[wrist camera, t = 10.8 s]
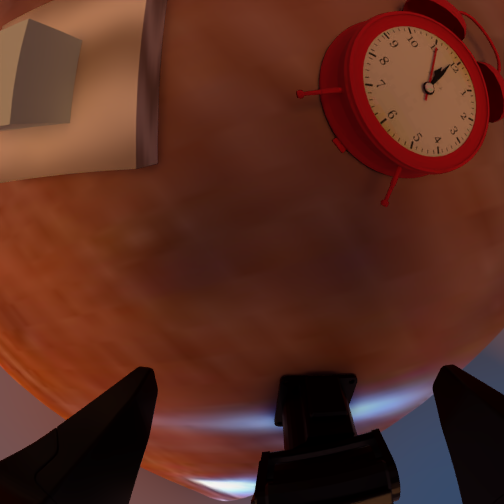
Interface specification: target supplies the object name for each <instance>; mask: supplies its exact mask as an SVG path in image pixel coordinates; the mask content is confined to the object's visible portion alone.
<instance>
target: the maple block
mask: <svg viewBox="0 0 504 504" xmlns="http://www.w3.org/2000/svg"><path fill="white" fill-rule="evenodd" d="M166 4H167V0H54V1H51V2H49V3H47V4H44V5H42V6H40V7H38V8H36V9H34V10H32V11H30V12H28V13H26V14H24V15H22V16H20V17H18V18H16V19H14V20H13V21H11V22H9V23H7V24H5V25H4V26H3V28H2V30H3V29H6V28H8V27H10V26H12V25H14V24H17V23H19V22H21V21H24V20H26V19H32V20H34V21H37V22H40V23H42V24H45V25H47V26H50V27H52V28H54V29H57V30H59V31H62V32H64V33H66V34H69V35H71V36H73V37H75V38H78V39H80V40H82V44H81V49H80V54H79V59H78V64H77V70H76V76H75V83H74V90H73V98H72V107H71V116H70V123H65V124H55V125H45V126H37V127H29V128H22V129H16V130H5V131H0V183H3V182H9V181H16V180H23V179H30V178H38V177H46V176H54V175H63V174H73V173H84V172H96V171H109V170H125V169H138V168H142V167H146V166H150V165H154V164H158V102H159V80H160V64H161V51H162V40H163V29H164V20H165V12H166Z"/></svg>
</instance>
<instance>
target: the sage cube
mask: <svg viewBox="0 0 504 504" xmlns="http://www.w3.org/2000/svg"><path fill="white" fill-rule="evenodd" d="M81 44H82V40H80V39H78V38H75V37H73V36H71V35H69V34H66V33H64V32H62V31H59V30H57V29H54V28H52V27H50V26H47V25H45V24H42V23H40V22H37V21H34V20H32V19H26V20H24V21H21V22H19V23H17V24H14V25H12V26H10V27H8V28H6V29H3V30H1V31H0V131H5V130H16V129H22V128H29V127H37V126H45V125H55V124H65V123H70V116H71V107H72V98H73V90H74V83H75V76H76V70H77V64H78V59H79V54H80V49H81Z"/></svg>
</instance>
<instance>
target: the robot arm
mask: <svg viewBox="0 0 504 504" xmlns="http://www.w3.org/2000/svg"><path fill="white" fill-rule="evenodd" d="M350 380H351V381H350ZM285 382H287V383H285ZM356 384H357V377H356V375H353V374H351V375H330V376H284V377H282V378H281V379H280V384H279V392H278V399H277V406H276V413H275V420H274V422H275V425H276V426H283V434H284V451H277V452H270V451H268V452H262V457H261V461H259V467H258V474H257V481H256V487H255V492H254V495H253V497H252V500H251V504H393V502H394V501H397V500H399V498H400V481H399V475H398V471H397V468H396V464H395V462H394V460H393V457H392V455H391V454H390V451H389V449H388V447H387V445H386V443H385V441H384V439H383V437H382V435H381V433H380V431H379V429H375V430H371V432H368V433H365V434H361V435H357V432H356V429H355V425H354V422H353V418H352V414H351V411H350V407H349V403H350V401H351V398H352V395H353V392H354V390H355V387H356ZM157 393H158V388H157V383H156V379H155V374H154V371H153V369H152V368H148V367H138V368H136V369H135V370H134V371H132V372H131V373H130V374H128V375H127V376H126V377H124V378H123V379H122V380H120V381H119V382H118V383H116V384H115V385H114V386H112V387H111V388H109V389H108V390H107V391H105V392H104V393H103V394H101V395H100V396H99V397H97V398H96V399H95V400H93V401H92V402H91V403H89V404H88V405H86V406H85V407H84V408H82V409H81V410H80V411H78V412H77V413H75V414H74V415H73V416H71V417H70V418H69V419H67V420H66V421H64V422H63V423H62V424H60V425H59V426H58V427H57V428H55V429H53V430H52V431H50V432H49V433H48V434H46V435H45V436H43V437H42V438H40V439H39V440H37V441H36V442H34V443H32V444H31V445H29V446H27V447H26V448H24V449H22V450H20V451H18V452H16V453H15V454H13V455H11V456H9V457H7V458H5V459H3V460H1V461H0V504H129V501H130V498H131V494H132V491H133V487H134V484H135V480H136V478H137V474H138V471H139V468H140V465H141V461H142V458H143V455H144V452H145V449H146V446H147V442H148V439H149V435H150V430H151V425H152V419H153V414H154V409H155V404H156V399H157ZM433 393H434V397H435V401H436V405H437V409H438V414H439V418H440V423H441V427H442V430H443V433H444V436H445V439H446V442H447V446H448V449H449V452H450V456H451V459H452V463H453V466H454V470H455V474H456V477H457V481H458V485H459V489H460V494H461V498H462V502H463V504H504V395H503V394H501V393H500V392H498V391H496V390H495V389H493V388H491V387H490V386H488V385H487V384H485V383H483V382H481V381H480V380H478V379H477V378H475V377H473V376H472V375H470V374H468V373H467V372H465V371H463V370H462V369H460V368H458V367H457V366H455V365H445V366H443V367H442V368H441V369H440V371H439V373H438V375H437V377H436V379H435V381H434V384H433Z"/></svg>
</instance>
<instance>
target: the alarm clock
mask: <svg viewBox="0 0 504 504" xmlns="http://www.w3.org/2000/svg"><path fill="white" fill-rule="evenodd" d="M461 14H462V15H465V16H467V17H468V18H470V19H471V20H472V21H473V22H474V23H475V24H476V25H477V26H478V27H479V28H480V30H481V31H482V32H483V33H484V35H485V36H486V38H487V39H488V41H489V43H490V45H491V47H492V48H493V50H494V53H495V55H496V58H497V64H498V68H497V70H496V69H495V68H494V67H493V66H491V65H490V64H487V63H485V62H479V61H478V62H476V60H475V58H474V56H473V55H472V53H471V52H470V51H469V49H468V48H467V47H466V45H465V44H464V43H463V42H462V40H463V39H464V38H465V35H466V24H465V21H464V19H463V17H462V15H461ZM500 71H501V63H500V58H499V55H498V53H497V50H496V48H495V46H494V44H493V42H492V41H491V39H490V38H489V36H488V34H487V33H486V32H485V30H484V29H483V28H482V26H481V25H480V24H479V23H478V22H477V21H476V20H475V19H474V18H473V17H472V16H470V15H469V14H467V13H466V12H463V11H458V10H457V9H456V8H455V7H454V6H453V5H452V4H450V3H449V2H448V1H446V0H407V1H406V3H405V5H404V8H403V11H394V12H387V13H383V14H380V15H377V16H374V17H372V18H371V19H369V20H367V21H364V22H361V23H358V24H355V25H353V26H351V27H349V28H347V29H346V30H345V31H343V32H342V33H341V34H340V35H339V36H337V38H336V39H335V40H334V41H333V42H332V44H331V45H330V46H329V48H328V50H327V52H326V53H325V56H324V59H323V61H322V65H321V69H320V78H319V90H314V91H307V92H303V91H302V90H298V91H297V92H296V94H297V98H300V99H301V98H303V97H304V96H307V95H318V94H320V98H321V102H322V107H323V110H324V113H325V116H326V118H327V120H328V123H329V125H330V127H331V129H332V130H333V132H334V134H335V135H336V138H335V139H334V140H332V141H333V143H334V144H335V145H336V146H337V148H338V149H339V150H340V151H341V153H343V152H344V151H346V150H348V151H349V152H350V153H351V154H352V155H353V156H354V157H355V158H356V159H358V160H359V161H360V162H362V163H363V164H364V165H366V166H368V167H369V168H371V169H373V170H375V171H377V172H380V173H383V174H386V175H389V176H393V178H392V180H391V183H390V187H389V189H388V192H387V194H386V196H385V199H384V200H382V201H381V205H383V206H385V207H387V206H388V204H389V202H388V199H389V197H390V195H391V192H392V190H393V188H394V186H395V185H396V183H397V180H398V178H417V177H422V176H425V175H428V174H442V173H446V172H450V171H452V170H455V169H457V168H459V167H461V166H463V165H464V164H466V163H467V162H468V161H469V160H471V159H472V158H473V157H474V155H475V154H476V153H477V152H478V150H479V149H480V147H481V145H482V143H483V141H484V138H485V136H486V132H487V129H488V123H489V122H492V123H493V122H496V121H499V120H501V119H502V118H504V80H503V78H502V76H501V75H500Z"/></svg>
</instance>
